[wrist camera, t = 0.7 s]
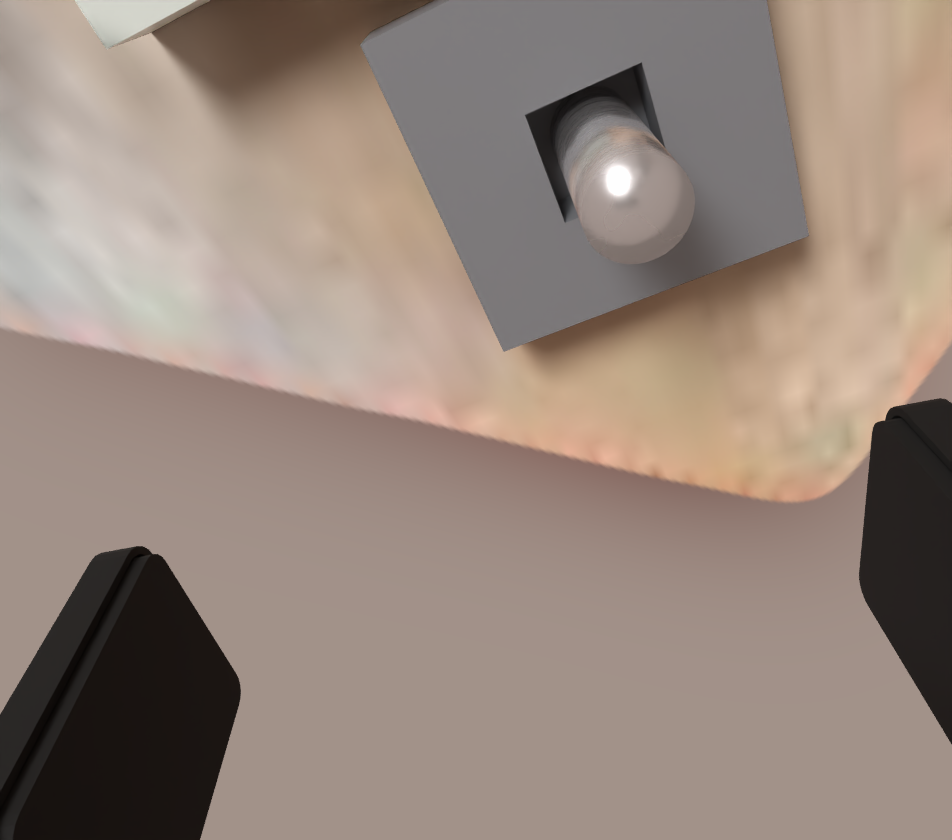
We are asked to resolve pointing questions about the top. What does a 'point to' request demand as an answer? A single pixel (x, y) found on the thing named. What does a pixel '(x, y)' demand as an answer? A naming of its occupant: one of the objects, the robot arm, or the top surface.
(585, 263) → the grey square hole plate
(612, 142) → the pin
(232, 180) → the top surface
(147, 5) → the parts tray
